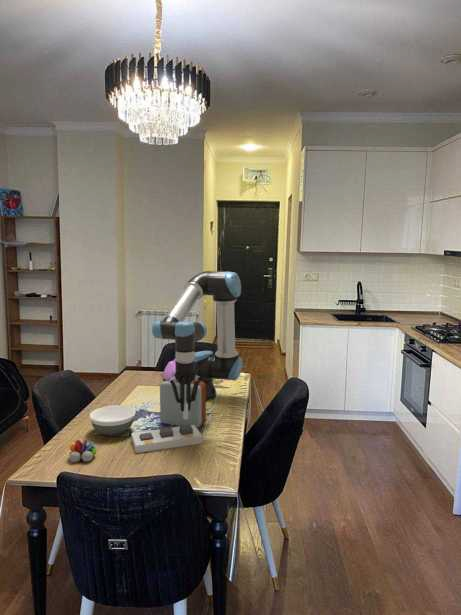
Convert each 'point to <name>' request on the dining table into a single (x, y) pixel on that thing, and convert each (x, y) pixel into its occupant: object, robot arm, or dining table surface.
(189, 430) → the button
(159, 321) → the robot arm
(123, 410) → the bowl
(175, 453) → the dining table surface
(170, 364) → the pink cap
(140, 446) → the board
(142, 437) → the button
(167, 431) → the button middle
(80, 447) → the rainbow disc toy
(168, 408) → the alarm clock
